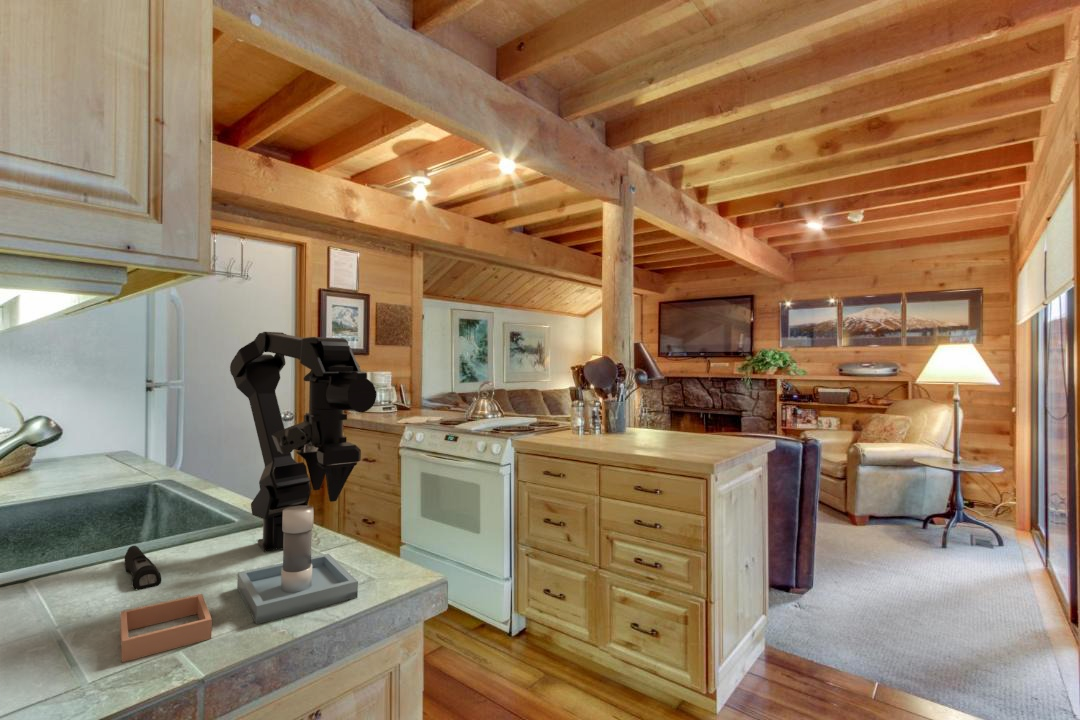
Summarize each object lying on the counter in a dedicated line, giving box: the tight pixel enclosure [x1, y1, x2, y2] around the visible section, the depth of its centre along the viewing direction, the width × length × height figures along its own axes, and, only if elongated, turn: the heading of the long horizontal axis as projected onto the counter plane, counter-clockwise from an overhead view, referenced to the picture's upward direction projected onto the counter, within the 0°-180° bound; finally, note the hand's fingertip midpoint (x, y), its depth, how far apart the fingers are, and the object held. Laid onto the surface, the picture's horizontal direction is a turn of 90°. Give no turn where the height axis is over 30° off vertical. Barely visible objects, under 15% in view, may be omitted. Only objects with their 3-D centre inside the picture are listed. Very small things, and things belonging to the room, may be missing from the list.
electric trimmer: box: [124, 545, 162, 591], centre depth 90 cm, size 4×16×3 cm, turn 44°
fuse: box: [281, 505, 315, 593], centre depth 84 cm, size 4×4×12 cm
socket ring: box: [120, 593, 213, 663], centre depth 71 cm, size 9×9×2 cm
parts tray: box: [236, 553, 359, 625], centre depth 84 cm, size 14×14×2 cm
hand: (324, 495), depth 96 cm, fingers open, 9 cm apart
